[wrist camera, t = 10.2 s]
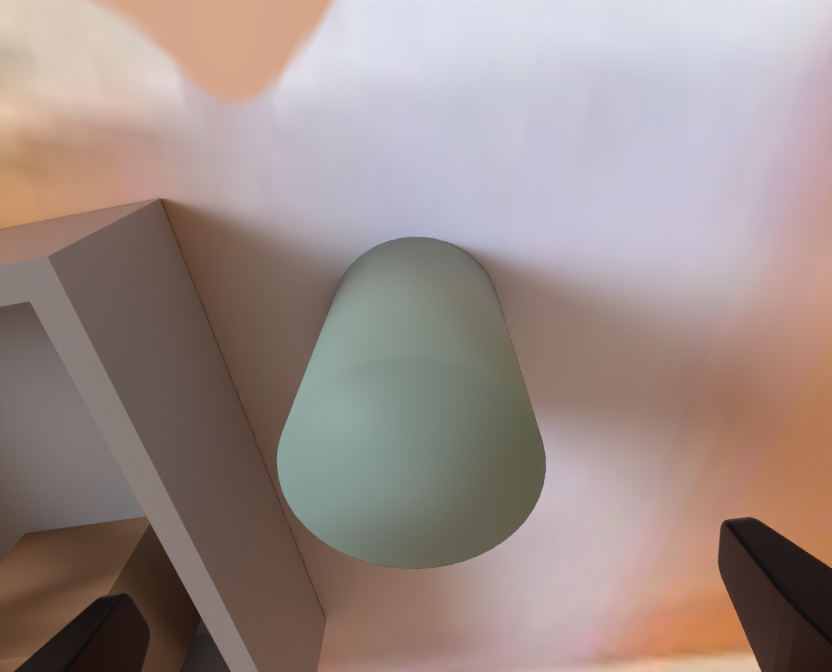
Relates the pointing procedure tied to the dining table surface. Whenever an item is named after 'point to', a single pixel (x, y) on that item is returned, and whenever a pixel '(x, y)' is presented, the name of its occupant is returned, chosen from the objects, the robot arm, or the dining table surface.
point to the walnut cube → (92, 588)
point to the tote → (143, 429)
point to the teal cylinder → (412, 415)
